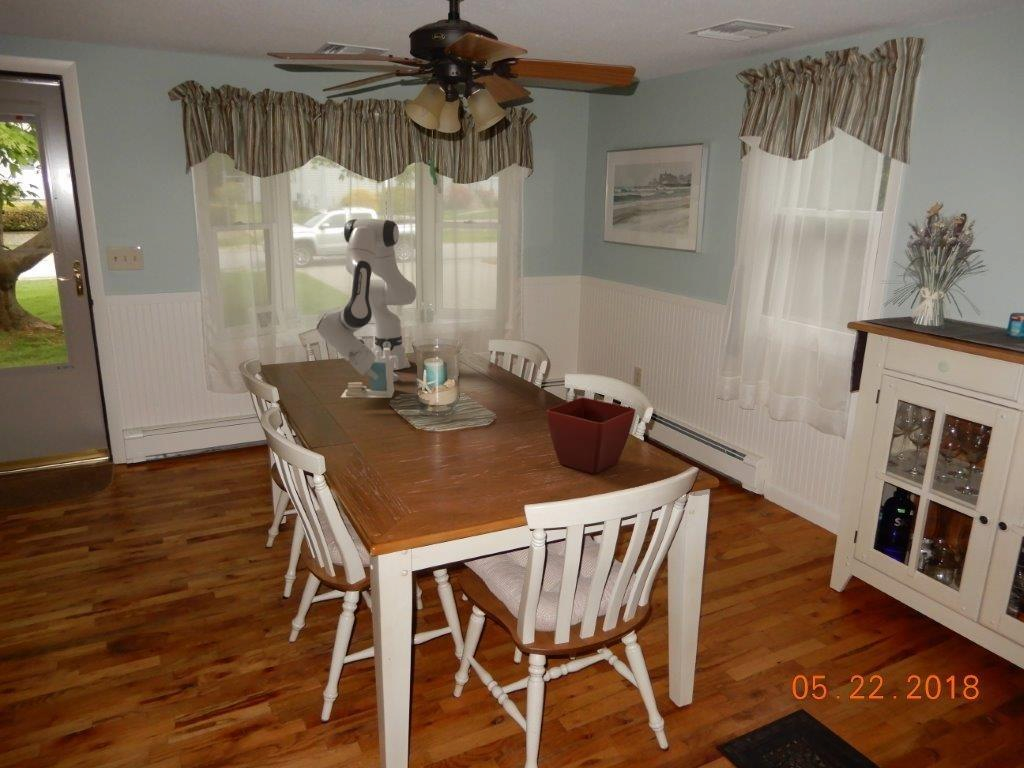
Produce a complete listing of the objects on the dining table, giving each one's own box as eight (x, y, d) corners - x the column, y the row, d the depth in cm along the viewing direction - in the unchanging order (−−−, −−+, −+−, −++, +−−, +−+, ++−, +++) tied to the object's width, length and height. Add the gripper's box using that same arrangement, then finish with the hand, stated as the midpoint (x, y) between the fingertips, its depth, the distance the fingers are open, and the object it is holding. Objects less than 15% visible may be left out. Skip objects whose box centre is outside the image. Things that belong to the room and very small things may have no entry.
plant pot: (580, 447, 224) (582, 396, 219) (633, 462, 212) (636, 408, 208) (543, 464, 209) (544, 409, 205) (598, 481, 198) (601, 423, 193)
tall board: (371, 392, 274) (370, 362, 271) (386, 392, 275) (386, 362, 272) (370, 393, 273) (369, 363, 270) (386, 394, 273) (385, 363, 270)
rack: (346, 393, 279) (344, 355, 275) (394, 393, 280) (393, 355, 276) (340, 401, 268) (338, 362, 264) (391, 401, 269) (390, 362, 265)
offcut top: (348, 387, 275) (348, 382, 274) (362, 386, 276) (362, 382, 275) (347, 391, 269) (347, 387, 268) (362, 391, 270) (361, 386, 269)
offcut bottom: (349, 390, 277) (349, 385, 277) (366, 390, 277) (366, 386, 277) (345, 396, 269) (345, 391, 269) (363, 396, 270) (363, 391, 269)
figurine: (401, 384, 292) (401, 348, 288) (380, 387, 287) (378, 351, 283) (395, 380, 298) (394, 345, 294) (373, 383, 293) (372, 347, 289)
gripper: (353, 350, 258) (381, 376, 261) (362, 338, 278) (388, 363, 281) (341, 362, 259) (369, 388, 262) (351, 349, 279) (377, 374, 282)
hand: (379, 375), depth 272 cm, fingers open, 8 cm apart
